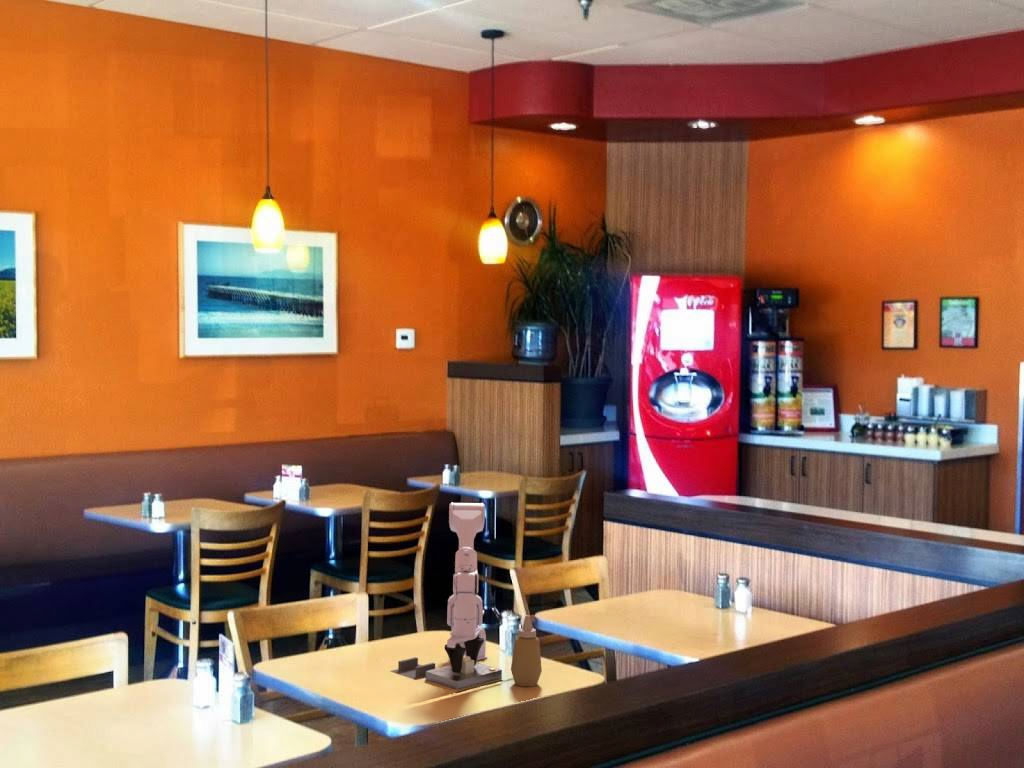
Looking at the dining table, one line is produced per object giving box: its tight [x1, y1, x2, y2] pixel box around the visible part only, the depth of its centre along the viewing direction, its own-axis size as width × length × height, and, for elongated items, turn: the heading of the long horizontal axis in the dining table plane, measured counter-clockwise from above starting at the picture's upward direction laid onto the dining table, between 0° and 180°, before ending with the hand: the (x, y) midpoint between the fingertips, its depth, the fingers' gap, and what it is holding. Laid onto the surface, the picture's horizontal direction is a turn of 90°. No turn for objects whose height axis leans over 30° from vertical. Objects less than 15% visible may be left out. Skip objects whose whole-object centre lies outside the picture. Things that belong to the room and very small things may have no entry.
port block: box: [425, 661, 503, 694], centre depth 330 cm, size 16×12×3 cm
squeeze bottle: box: [510, 615, 543, 687], centre depth 329 cm, size 8×8×18 cm
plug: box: [461, 655, 474, 675], centre depth 330 cm, size 3×5×7 cm, turn 44°
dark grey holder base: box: [390, 656, 436, 680], centre depth 336 cm, size 10×10×3 cm
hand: (464, 669), depth 330 cm, fingers open, 7 cm apart
